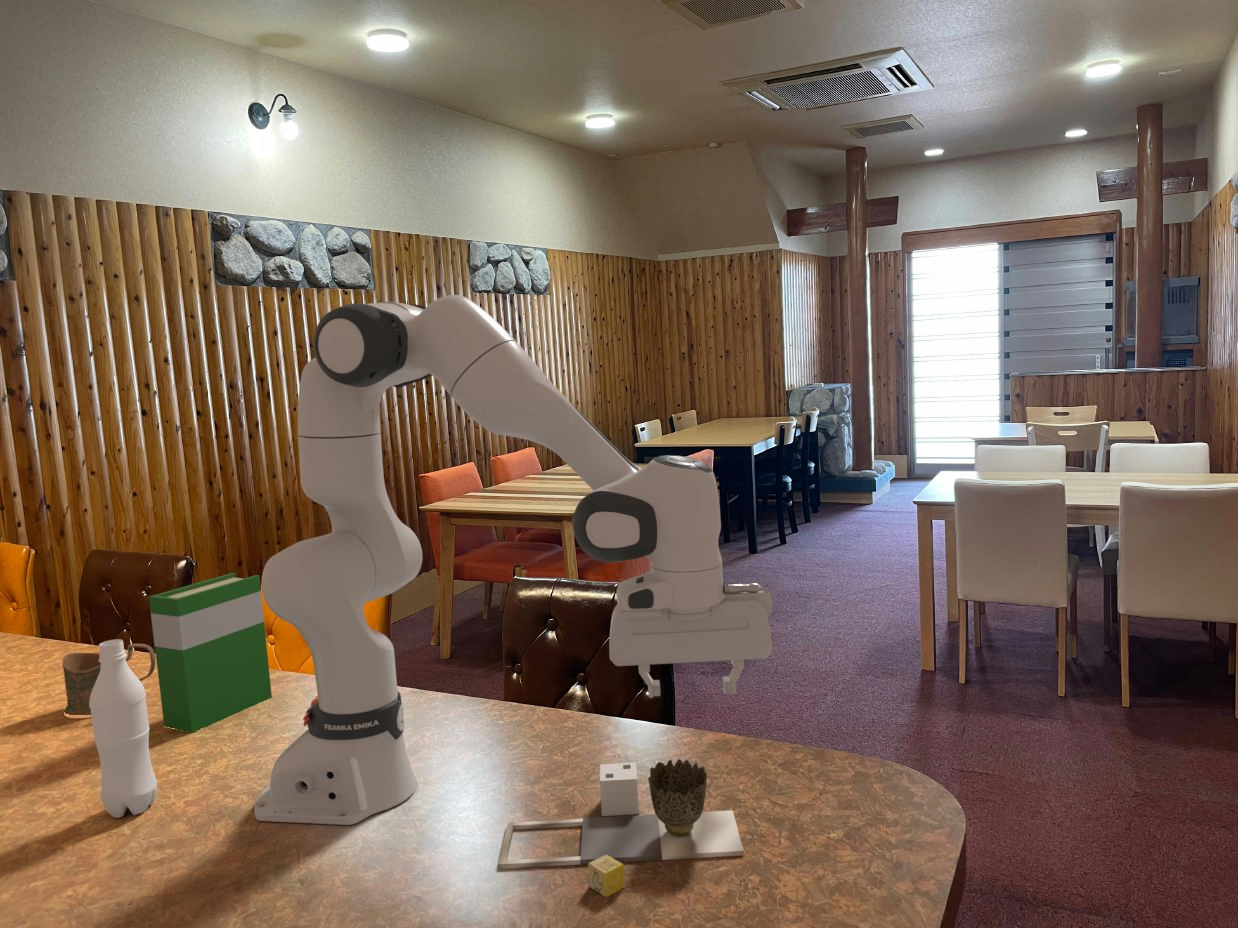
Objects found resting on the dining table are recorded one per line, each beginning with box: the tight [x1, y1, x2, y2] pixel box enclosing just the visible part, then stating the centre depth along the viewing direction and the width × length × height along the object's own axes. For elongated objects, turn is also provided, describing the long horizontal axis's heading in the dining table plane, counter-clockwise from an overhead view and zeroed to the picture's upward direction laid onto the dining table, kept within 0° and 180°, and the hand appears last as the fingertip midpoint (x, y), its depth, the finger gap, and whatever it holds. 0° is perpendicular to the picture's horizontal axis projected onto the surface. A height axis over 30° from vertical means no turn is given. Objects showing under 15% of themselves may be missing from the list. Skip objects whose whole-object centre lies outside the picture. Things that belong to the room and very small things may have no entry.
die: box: [599, 761, 640, 817], centre depth 125 cm, size 5×5×5 cm
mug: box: [62, 643, 156, 715], centre depth 174 cm, size 12×18×12 cm, turn 89°
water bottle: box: [89, 639, 158, 819], centre depth 131 cm, size 7×7×25 cm
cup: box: [647, 758, 708, 837], centre depth 116 cm, size 8×7×8 cm
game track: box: [498, 809, 745, 870], centre depth 116 cm, size 30×10×1 cm, turn 90°
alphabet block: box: [587, 855, 625, 898], centre depth 106 cm, size 3×3×3 cm
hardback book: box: [148, 572, 273, 734], centre depth 168 cm, size 18×7×24 cm, turn 153°
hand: (692, 694), depth 114 cm, fingers open, 8 cm apart
